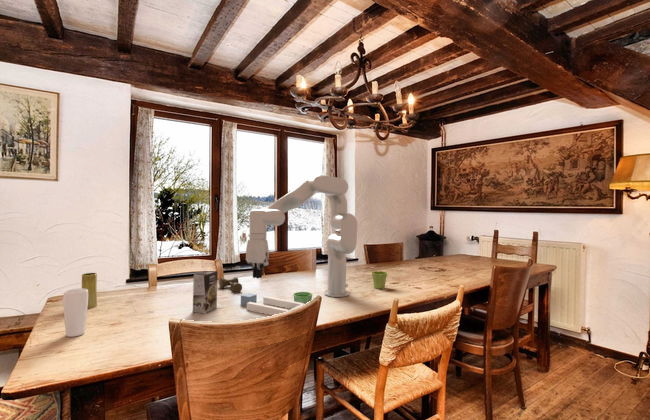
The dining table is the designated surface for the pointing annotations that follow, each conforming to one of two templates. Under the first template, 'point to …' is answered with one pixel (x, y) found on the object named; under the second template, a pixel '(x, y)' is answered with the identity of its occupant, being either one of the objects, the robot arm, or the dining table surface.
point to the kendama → (231, 284)
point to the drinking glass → (75, 311)
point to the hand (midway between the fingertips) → (257, 277)
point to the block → (248, 298)
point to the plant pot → (379, 279)
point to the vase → (90, 288)
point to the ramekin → (302, 297)
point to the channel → (271, 309)
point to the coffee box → (205, 291)
